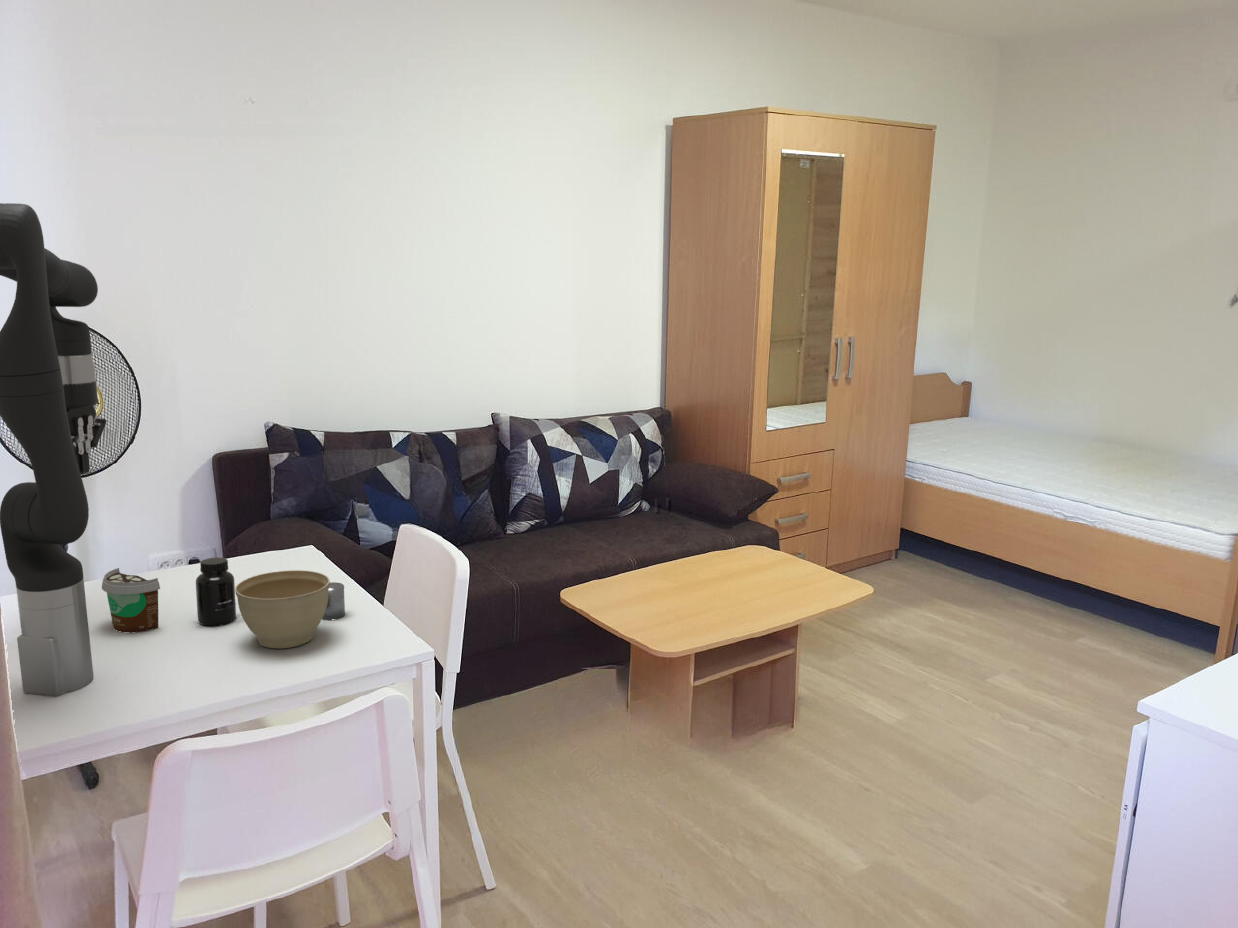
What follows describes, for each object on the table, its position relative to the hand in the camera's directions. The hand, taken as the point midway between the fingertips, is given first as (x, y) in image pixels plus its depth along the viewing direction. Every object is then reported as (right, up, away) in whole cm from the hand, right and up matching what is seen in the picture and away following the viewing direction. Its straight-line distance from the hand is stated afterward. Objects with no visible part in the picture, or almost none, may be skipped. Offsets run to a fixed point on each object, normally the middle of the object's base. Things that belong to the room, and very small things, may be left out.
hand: (81, 473), depth 171 cm
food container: (+7, -29, +3) cm, 30 cm away
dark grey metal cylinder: (+42, -28, +12) cm, 52 cm away
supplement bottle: (+21, -29, +8) cm, 37 cm away
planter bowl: (+38, -31, 0) cm, 49 cm away
